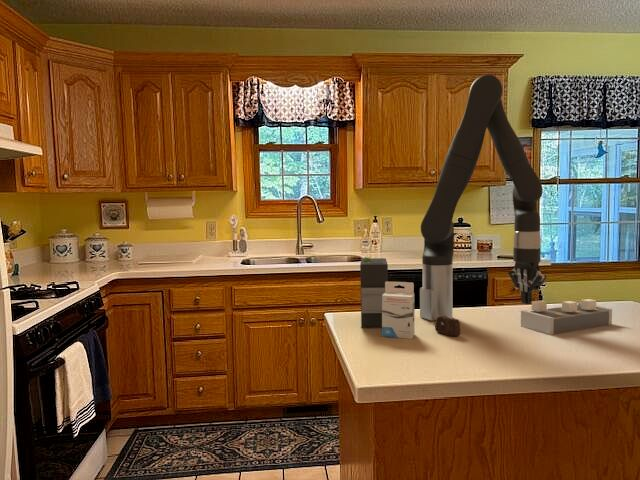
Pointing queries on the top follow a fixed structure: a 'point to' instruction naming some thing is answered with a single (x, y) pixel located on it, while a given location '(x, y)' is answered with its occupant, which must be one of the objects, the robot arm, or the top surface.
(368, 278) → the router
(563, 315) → the power strip
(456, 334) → the stone
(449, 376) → the top surface
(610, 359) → the top surface
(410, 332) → the ink box
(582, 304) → the switch
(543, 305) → the switch
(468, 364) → the top surface
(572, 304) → the switch
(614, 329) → the top surface
